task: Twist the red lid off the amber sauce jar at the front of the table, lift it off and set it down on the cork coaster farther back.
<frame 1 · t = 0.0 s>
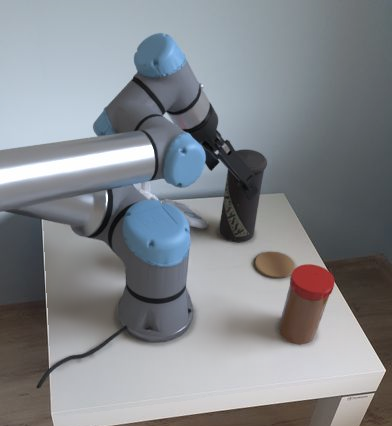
hand: (233, 180, 115), 15 cm above the table, tool tilted 35°, fingers open, 13 cm apart
jar lid: (312, 279, 97), point 14 cm above the table, screwed on, not yet turned
koala figurine: (148, 226, 127), on the table, touching button
button: (195, 216, 130), point 1 cm above the table, touching koala figurine
sauce jar: (296, 330, 107), on the table
container: (236, 233, 128), on the table
coaster: (274, 265, 121), on the table
pill bottle: (153, 267, 117), on the table
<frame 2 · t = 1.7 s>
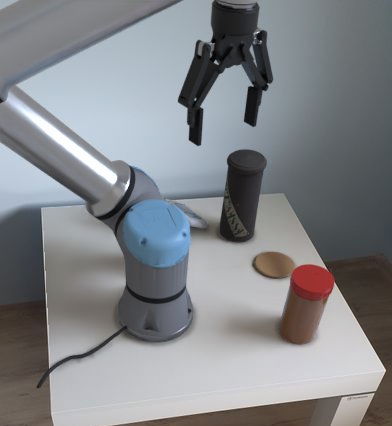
hand: (223, 133, 98), 30 cm above the table, tool pointing down, fingers open, 13 cm apart
pill bottle: (153, 267, 117), on the table, touching arm
everything else where it was.
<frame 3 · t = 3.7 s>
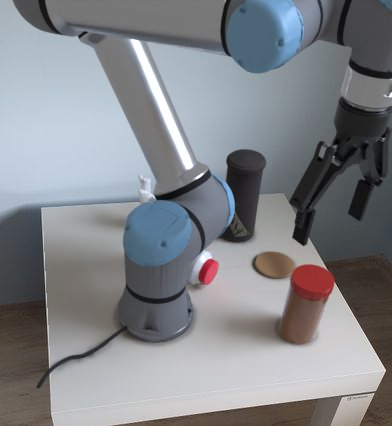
hand: (327, 228, 89), 25 cm above the table, tool pointing down, fingers open, 13 cm apart
pill bottle: (169, 252, 115), point 4 cm above the table
everything else where it was.
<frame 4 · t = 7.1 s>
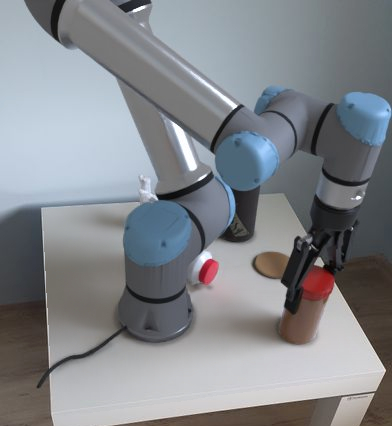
hand: (305, 301, 101), 8 cm above the table, tool pointing down, fingers closed on jar lid, 8 cm apart
jar lid: (312, 279, 97), point 14 cm above the table, screwed on, not yet turned, touching gripper
everything else where it was.
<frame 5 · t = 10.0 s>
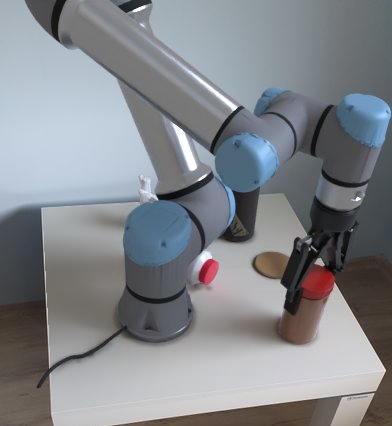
hand: (305, 302, 101), 8 cm above the table, tool pointing down, fingers closed on jar lid, 8 cm apart
jar lid: (313, 278, 97), point 14 cm above the table, turned 81° so far, risen 0.2 cm, still on its thread, touching gripper
everything else where it was.
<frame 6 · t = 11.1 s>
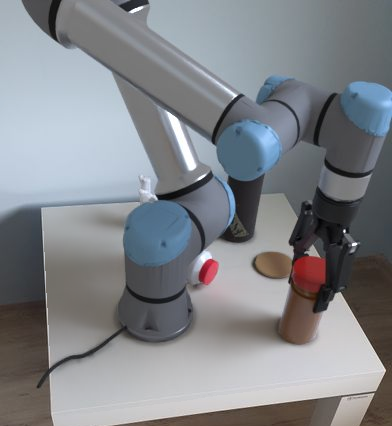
hand: (306, 295, 100), 10 cm above the table, tool pointing down, fingers closed on jar lid, 8 cm apart
jar lid: (314, 271, 96), point 16 cm above the table, off its thread, touching gripper
sauce jar: (296, 330, 107), on the table, touching gripper
everything else where it was.
when the fingers open (1 cm above the table, at t = 19.1 s): jar lid drops 5 cm, resting on coaster.
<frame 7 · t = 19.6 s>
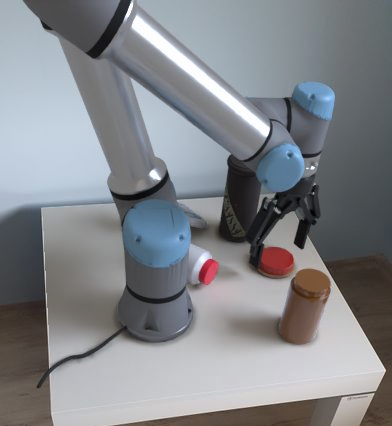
hand: (276, 255, 118), 3 cm above the table, tool pointing down, fingers open, 13 cm apart
jar lid: (276, 258, 119), point 2 cm above the table, off its thread, touching coaster
sauce jar: (296, 330, 107), on the table
everything else where it was.
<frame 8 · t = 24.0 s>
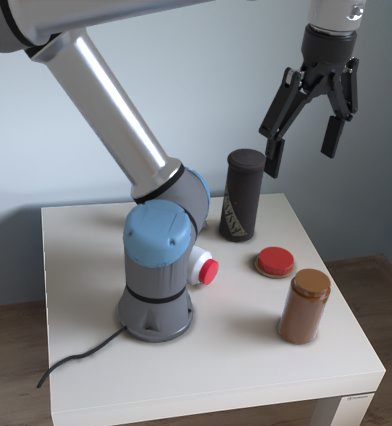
hand: (299, 164, 91), 31 cm above the table, tool pointing down, fingers open, 13 cm apart
at the end: jar lid inside the target area on the coaster (0.0 cm from its centre), point 2.1 cm above the coaster's base; jar lid point 2.1 cm above the table; the gripper is holding nothing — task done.
